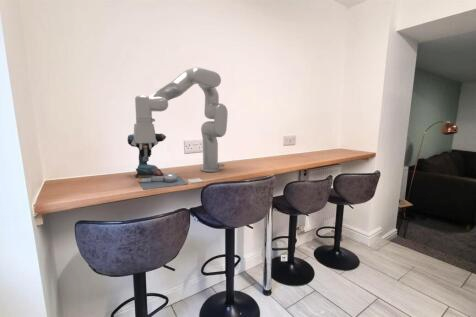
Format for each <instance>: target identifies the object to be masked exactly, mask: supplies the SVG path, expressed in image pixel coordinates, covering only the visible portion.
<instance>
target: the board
mask: <svg viewBox="0 0 476 317" xmlns="http://www.w3.org/2000/svg"><path fill="white" fill-rule="evenodd" d="M137 181H138V184H139V185H140V187H141V188H142V190H143V191H144V190H145V191H146V190H152V189H160V188H169V187H177V186H183V185H184V186H185V185H189V183H190V182H189V183H188V181H187V180H185V179H184V178H182V177H181V176H180V175H177V181H175V182H164V181H152V182H139V179H137Z"/></svg>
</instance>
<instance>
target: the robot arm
mask: <svg viewBox="0 0 476 317" xmlns="http://www.w3.org/2000/svg"><path fill="white" fill-rule="evenodd" d="M221 81H222V79H221V76H220V74H219V73H217V72H216V71H213V70H210V69H206V68H201V67H192V68H189V69H185V71H183V72H182V73H180V74H179V75H178V76H177V77H176V78H174V79H173V80H171V82H169V83H168V84H165V86H163V87H162V88H160V89H158V90H157V91H155V92H154V93H152V94H151V95H150V96H148V95H136V96H135V98H134V101H135V103H134V105H135V122H136V123H134V126H133V134H134V139H133V141H132V143H131V144H132V145H134V146H136V147H135V148H137V147H138V148H139V149H140V156H141V157H143V149H142V143H148V147H149V148H148V155H149V158H151V156H152V149H153V148H154V147H156V145H158V144H159V142H157V140H156V136H155V133H156V130H155V124H153V123H154V122H156V119H155V118H153V112H164V111H166V110H167V109H168V107H169V102H168V101H171V100H173V99H175V98H178V97H180V96H182V95H183V94H184V93H186V92H187V91H188V90H189V89H190V88H192V87H193V86H195V85H196V84H197V85H198V86H199V88H200V89H201V90H202V91H203V93H204V94H203V95H204V117H206V119H209V120H211V121H205V122H203V123H202V124H201V128H200V132H201V136H202V167H201V168H200V171H201V172H204V173H217V172H219V171H220V172H221V168H223V167H225V166H226V165H225V163H219V160H218V159H219V153H218V151H219V142H218V139H217V138H223V137H224V136H225V135H226V133H227V130H228V128H227V127H228V124H227V123H228V108H227V106H226V105H225V104H223V103H220V101H219V98H220V97H219V92H218V90H217V88H218V87H219V86H220V85H221V84H222V83H221ZM213 120H214V121H213ZM135 142H136V143H138V144H139V145H138V144H136V143H135ZM151 143H153V144H151ZM138 148H137V149H138ZM139 149H138V150H139Z"/></svg>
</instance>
